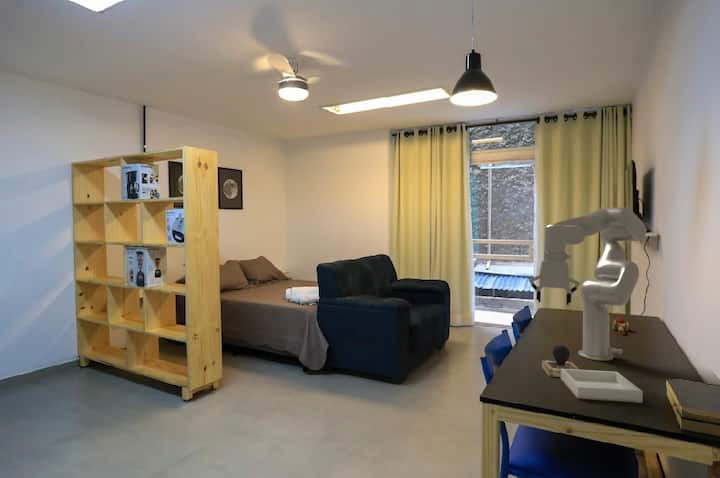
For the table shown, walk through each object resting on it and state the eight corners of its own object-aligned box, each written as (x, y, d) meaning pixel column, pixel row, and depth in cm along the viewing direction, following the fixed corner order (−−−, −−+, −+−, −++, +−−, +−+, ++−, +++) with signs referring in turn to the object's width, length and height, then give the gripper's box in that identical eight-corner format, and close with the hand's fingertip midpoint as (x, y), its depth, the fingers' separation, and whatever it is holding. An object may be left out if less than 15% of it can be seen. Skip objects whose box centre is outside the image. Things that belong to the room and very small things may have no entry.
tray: (616, 382, 144) (617, 371, 144) (642, 402, 126) (642, 391, 126) (560, 378, 147) (560, 368, 147) (577, 398, 129) (577, 387, 129)
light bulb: (549, 369, 156) (549, 343, 156) (563, 369, 156) (564, 342, 156) (557, 375, 150) (557, 347, 150) (572, 374, 151) (573, 346, 151)
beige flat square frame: (571, 368, 158) (571, 362, 158) (580, 378, 147) (581, 371, 147) (542, 366, 159) (542, 360, 159) (549, 376, 149) (549, 369, 149)
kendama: (632, 339, 209) (629, 327, 225) (630, 326, 209) (627, 315, 224) (614, 339, 213) (612, 327, 228) (612, 327, 212) (610, 316, 228)
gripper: (580, 258, 158) (578, 304, 158) (530, 256, 165) (528, 299, 165) (581, 259, 151) (579, 306, 151) (529, 256, 158) (528, 302, 158)
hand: (553, 303), depth 158 cm, fingers open, 9 cm apart
